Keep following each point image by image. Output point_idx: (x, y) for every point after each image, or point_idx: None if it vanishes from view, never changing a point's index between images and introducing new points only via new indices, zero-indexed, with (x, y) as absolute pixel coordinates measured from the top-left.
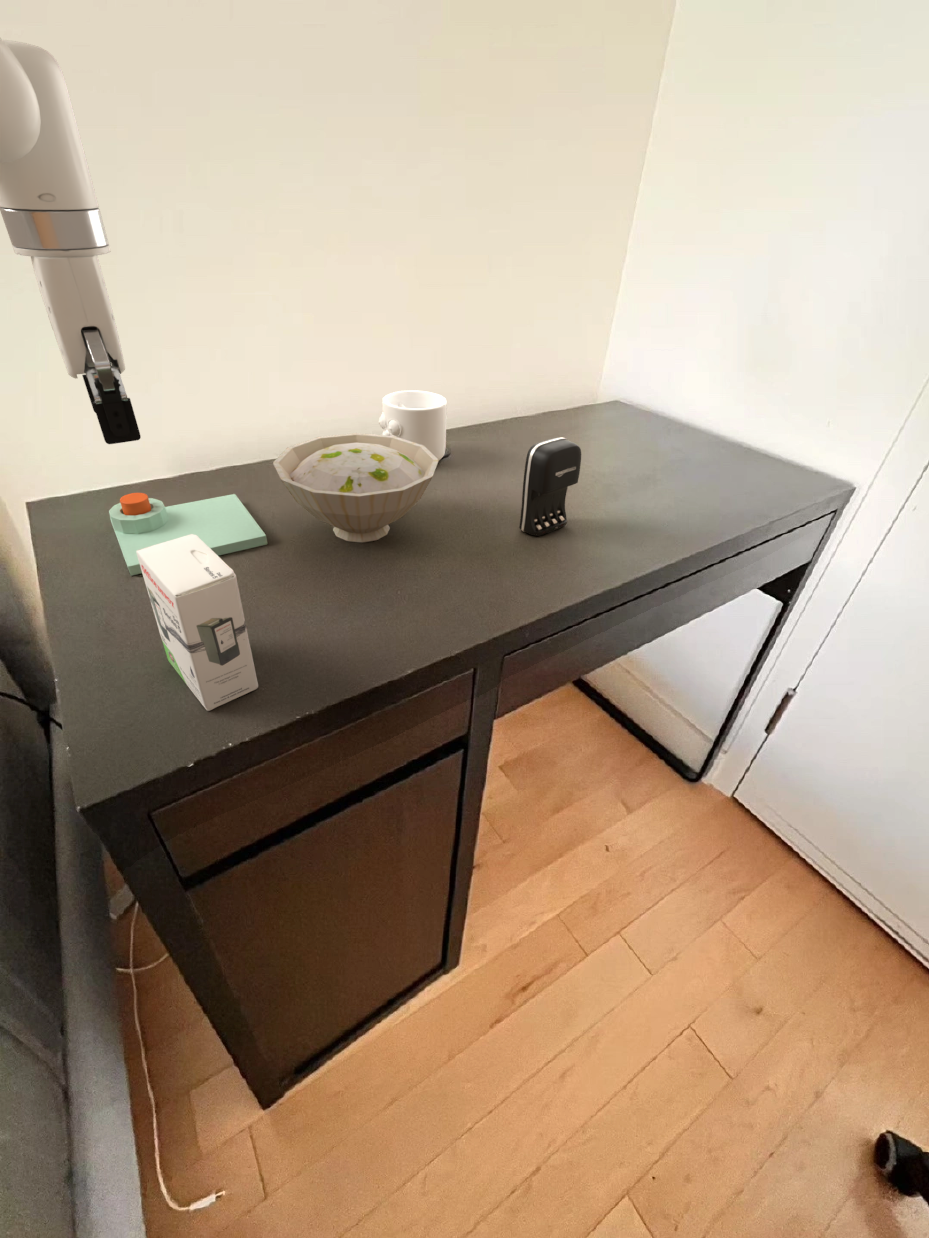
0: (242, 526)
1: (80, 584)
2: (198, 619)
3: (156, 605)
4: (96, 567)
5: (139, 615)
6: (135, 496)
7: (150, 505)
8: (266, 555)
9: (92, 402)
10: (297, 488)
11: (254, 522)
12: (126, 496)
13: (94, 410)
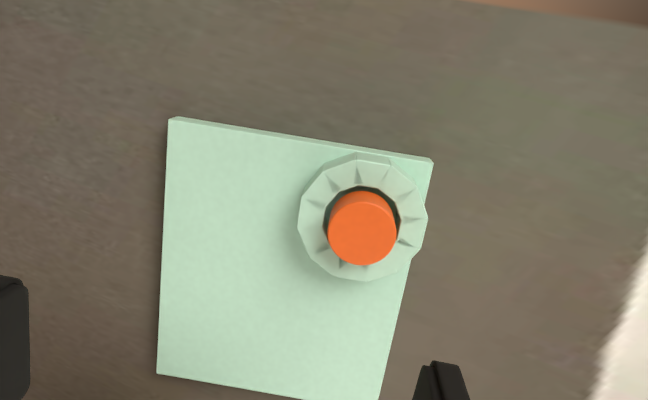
0: (216, 358)
1: (198, 18)
2: None
3: None
4: (254, 68)
5: (24, 81)
6: (366, 240)
7: None
8: (126, 340)
9: (434, 398)
10: None
11: (219, 382)
12: (381, 223)
13: (434, 367)
